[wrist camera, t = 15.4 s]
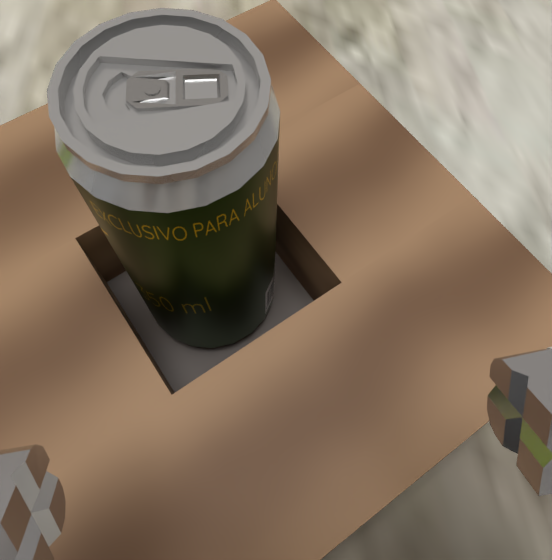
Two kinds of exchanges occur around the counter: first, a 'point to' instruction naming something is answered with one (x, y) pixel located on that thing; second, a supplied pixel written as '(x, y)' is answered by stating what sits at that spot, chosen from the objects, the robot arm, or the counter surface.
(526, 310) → the socket board
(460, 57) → the counter surface
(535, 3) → the counter surface
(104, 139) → the beer can
